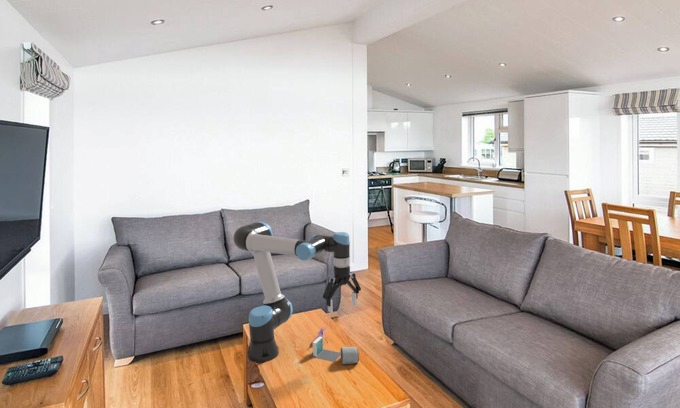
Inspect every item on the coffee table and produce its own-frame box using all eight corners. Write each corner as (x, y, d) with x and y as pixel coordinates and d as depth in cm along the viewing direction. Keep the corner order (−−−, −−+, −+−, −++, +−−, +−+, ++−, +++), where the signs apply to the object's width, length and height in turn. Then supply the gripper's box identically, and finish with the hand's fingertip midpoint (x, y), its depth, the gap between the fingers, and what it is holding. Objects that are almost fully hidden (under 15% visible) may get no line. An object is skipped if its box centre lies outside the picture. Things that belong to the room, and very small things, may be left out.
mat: (308, 357, 206) (308, 356, 206) (317, 348, 214) (317, 348, 214) (334, 362, 200) (334, 361, 200) (342, 353, 208) (342, 353, 208)
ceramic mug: (360, 365, 197) (359, 349, 196) (342, 367, 195) (342, 351, 194) (355, 354, 207) (355, 339, 206) (339, 356, 206) (338, 341, 205)
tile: (313, 356, 206) (312, 342, 205) (320, 349, 212) (319, 336, 211) (316, 356, 205) (315, 343, 204) (323, 350, 212) (322, 337, 211)
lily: (330, 337, 228) (321, 322, 229) (340, 337, 219) (330, 320, 219) (313, 351, 222) (303, 335, 222) (322, 351, 212) (312, 334, 212)
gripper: (323, 272, 188) (324, 317, 191) (368, 262, 201) (368, 305, 205) (314, 268, 194) (315, 312, 197) (358, 259, 208) (359, 300, 211)
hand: (342, 308), depth 201 cm, fingers open, 13 cm apart
